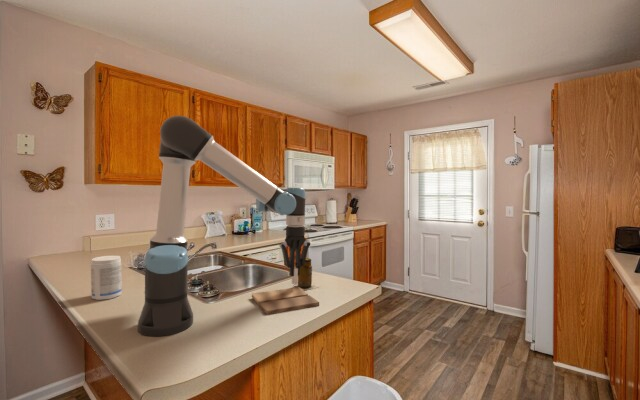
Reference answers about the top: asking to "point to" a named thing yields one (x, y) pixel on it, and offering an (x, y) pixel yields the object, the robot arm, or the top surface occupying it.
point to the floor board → (288, 304)
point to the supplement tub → (106, 277)
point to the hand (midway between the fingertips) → (294, 283)
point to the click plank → (278, 295)
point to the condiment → (305, 276)
